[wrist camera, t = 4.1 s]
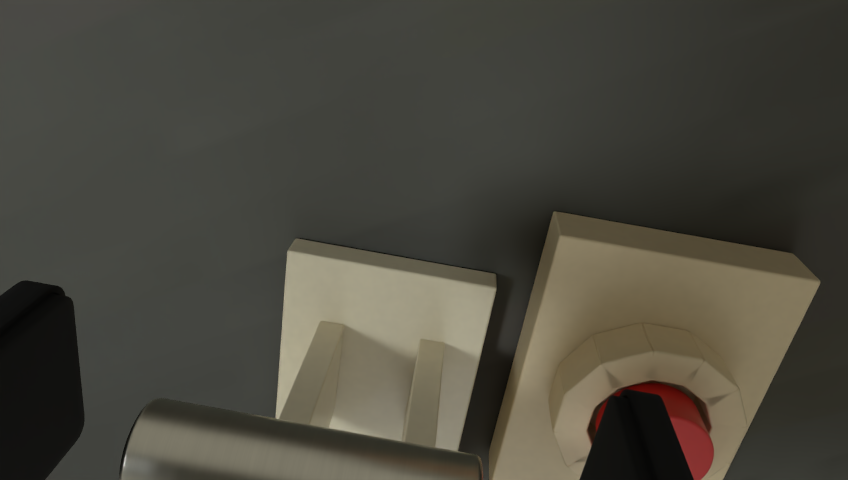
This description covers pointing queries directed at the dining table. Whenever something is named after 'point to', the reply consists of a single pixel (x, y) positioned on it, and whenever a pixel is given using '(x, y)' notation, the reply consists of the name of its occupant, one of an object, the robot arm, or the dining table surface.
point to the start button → (681, 425)
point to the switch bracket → (380, 343)
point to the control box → (642, 338)
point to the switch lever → (273, 450)
